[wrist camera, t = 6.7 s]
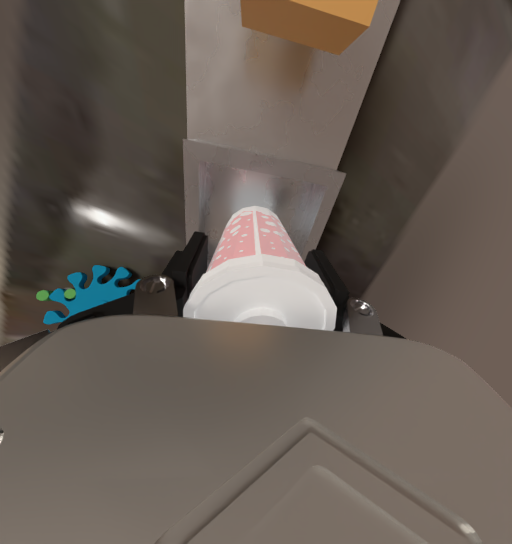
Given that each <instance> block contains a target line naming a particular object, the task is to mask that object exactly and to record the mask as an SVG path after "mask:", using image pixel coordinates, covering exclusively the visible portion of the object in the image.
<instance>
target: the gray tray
mask: <svg viewBox="0 0 512 544" xmlns="http://www.w3.org/2000/svg"><path fill="white" fill-rule="evenodd" d="M399 3H400V0H378V3H377V6H376V9H375V12H374V15H373V18H372V21H371V24H370V27H369V28H368V29H366V30H365V31H364V32H363V33H362V34H361V35H360V36H359V37H358V38H357V39H356V40H355V41H354V42H353V43H352V44H350V45H349V46H348V47H347V48H346V49H345V50H344V51H343V52H342V53H341V54H340V55H336V54H332V53H329V52H326V51H322V50H319V49H316V48H312V47H309V46H306V45H302V44H299V43H296V42H292V41H289V40H286V39H282V38H279V37H276V36H272V35H269V34H265V33H262V32H259V31H255V30H252V29H249V28H245V27H242V20H241V4H240V0H185V39H186V89H187V138H188V139H183V158H184V189H185V221H186V245H187V244H188V242H189V240H190V238H191V237H192V235H193V233H194V232H195V231H197V232H203V233H205V235H207V236H208V257H207V269H208V267H209V264H210V262H211V260H212V257H213V255H214V253H215V251H216V248H217V246H218V244H219V241H220V239H221V237H222V234H223V232H224V230H225V227H226V225H227V223H228V222H229V220H230V219H231V217H232V215H233V214H235V213H236V212H238V211H239V210H241V209H242V208H246V207H251V206H258V207H263V208H267V209H269V210H270V211H271V212H273V213H274V214H276V215H277V217H278V218H279V220H280V222H281V223H282V225H283V227H284V229H285V230H286V232H287V234H288V236H289V237H290V239H291V241H292V243H293V244H294V246H295V248H296V250H297V251H298V253H299V255H300V256H301V258H302V260H303V262H304V261H305V259H306V256H307V254H308V252H309V251H311V250H312V249H315V250H316V247H317V245H318V242H319V240H320V237H321V235H322V232H323V230H324V228H325V225H326V223H327V220H328V218H329V215H330V213H331V210H332V208H333V205H334V203H335V201H336V198H337V196H338V193H339V191H340V188H341V186H342V183H343V181H344V178H345V176H346V173H343V172H340V171H338V170H337V167H338V165H339V162H340V159H341V157H342V154H343V151H344V149H345V146H346V143H347V141H348V138H349V135H350V133H351V130H352V128H353V125H354V122H355V120H356V117H357V114H358V112H359V109H360V106H361V104H362V101H363V98H364V96H365V93H366V90H367V88H368V85H369V82H370V80H371V77H372V74H373V72H374V69H375V67H376V64H377V61H378V59H379V56H380V53H381V51H382V48H383V45H384V43H385V40H386V37H387V35H388V32H389V29H390V27H391V24H392V21H393V19H394V16H395V13H396V11H397V8H398V6H399Z"/></svg>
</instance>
